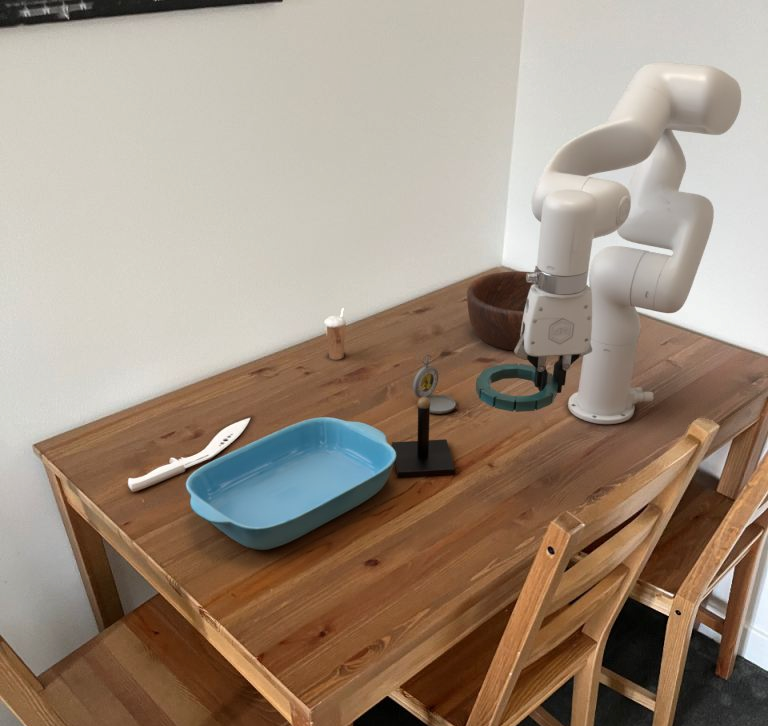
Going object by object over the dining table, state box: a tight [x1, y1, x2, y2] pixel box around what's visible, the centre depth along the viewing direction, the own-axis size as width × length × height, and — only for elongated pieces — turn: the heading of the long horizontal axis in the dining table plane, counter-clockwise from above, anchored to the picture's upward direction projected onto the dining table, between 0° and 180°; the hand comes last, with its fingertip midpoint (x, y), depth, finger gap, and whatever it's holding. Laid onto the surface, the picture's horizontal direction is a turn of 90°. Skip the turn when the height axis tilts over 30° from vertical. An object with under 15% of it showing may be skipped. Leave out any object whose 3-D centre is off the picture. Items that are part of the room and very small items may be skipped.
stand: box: [391, 397, 456, 479], centre depth 148 cm, size 10×10×13 cm
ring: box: [475, 363, 558, 413], centre depth 136 cm, size 13×13×2 cm
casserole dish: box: [185, 416, 396, 551], centre depth 140 cm, size 37×22×7 cm, turn 135°
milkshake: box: [323, 307, 347, 361], centre depth 183 cm, size 4×5×10 cm
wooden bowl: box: [466, 270, 534, 352], centre depth 192 cm, size 25×25×10 cm
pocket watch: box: [412, 353, 457, 415], centre depth 165 cm, size 8×8×10 cm
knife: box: [127, 417, 251, 493], centre depth 154 cm, size 30×2×8 cm
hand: (548, 388), depth 137 cm, fingers closed on ring, 2 cm apart
